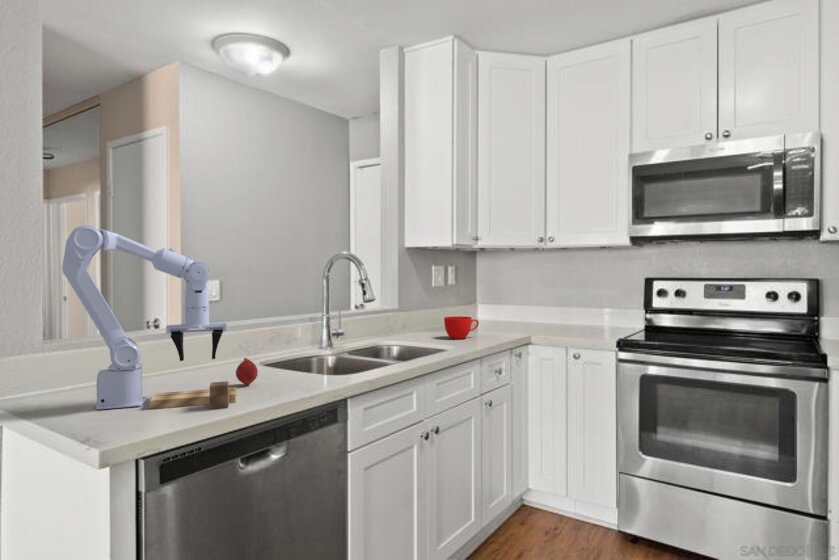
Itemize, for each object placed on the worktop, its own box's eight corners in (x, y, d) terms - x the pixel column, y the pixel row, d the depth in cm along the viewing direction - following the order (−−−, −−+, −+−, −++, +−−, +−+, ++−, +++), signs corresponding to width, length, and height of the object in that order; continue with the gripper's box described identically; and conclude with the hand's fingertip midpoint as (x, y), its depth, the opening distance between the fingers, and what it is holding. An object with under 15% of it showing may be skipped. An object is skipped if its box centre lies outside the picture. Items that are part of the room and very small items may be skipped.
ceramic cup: (483, 339, 240) (483, 318, 240) (449, 341, 235) (449, 319, 235) (473, 336, 252) (473, 315, 252) (440, 337, 248) (440, 316, 248)
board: (150, 409, 121) (149, 400, 121) (156, 401, 129) (156, 392, 129) (235, 402, 127) (235, 393, 127) (236, 394, 134) (236, 387, 134)
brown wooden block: (209, 409, 120) (209, 386, 120) (212, 400, 129) (212, 378, 129) (228, 408, 122) (227, 385, 121) (229, 398, 130) (229, 377, 130)
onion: (250, 382, 150) (250, 355, 150) (261, 385, 146) (261, 357, 146) (232, 385, 145) (231, 357, 145) (243, 388, 142) (243, 359, 142)
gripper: (163, 309, 128) (164, 363, 128) (225, 307, 132) (226, 360, 133) (168, 307, 135) (169, 359, 135) (227, 306, 139) (228, 356, 139)
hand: (197, 359), depth 134 cm, fingers open, 7 cm apart
